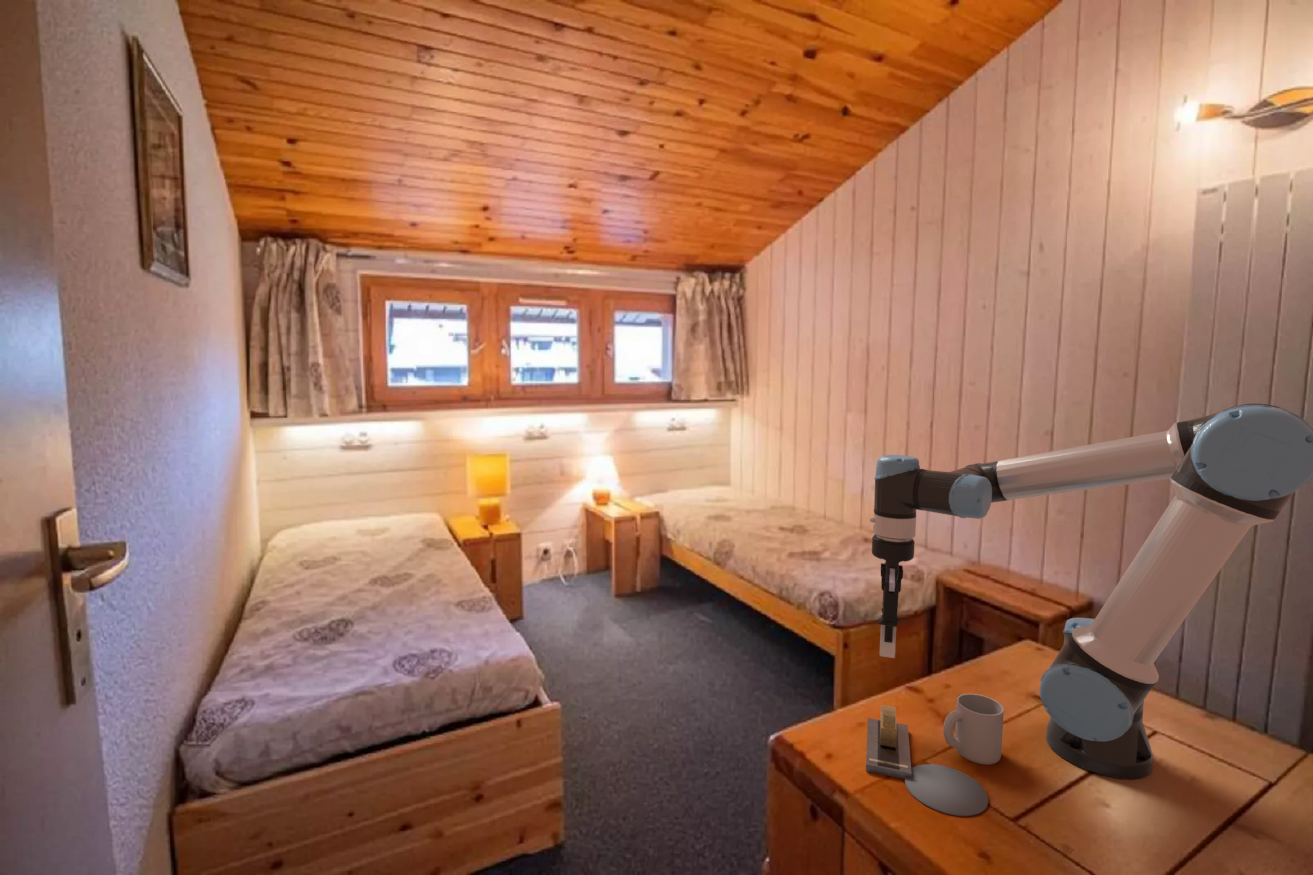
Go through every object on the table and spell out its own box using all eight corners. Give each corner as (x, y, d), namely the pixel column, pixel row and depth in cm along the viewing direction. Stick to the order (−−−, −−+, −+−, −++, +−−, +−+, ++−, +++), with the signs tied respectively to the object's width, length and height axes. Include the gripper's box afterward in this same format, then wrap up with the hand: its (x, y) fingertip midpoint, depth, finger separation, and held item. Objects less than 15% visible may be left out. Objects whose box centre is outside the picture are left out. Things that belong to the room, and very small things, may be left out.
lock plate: (907, 731, 114) (907, 724, 114) (911, 780, 100) (911, 773, 100) (867, 723, 116) (867, 717, 116) (865, 771, 102) (866, 763, 102)
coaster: (981, 775, 101) (981, 773, 101) (994, 824, 90) (994, 822, 90) (903, 759, 105) (903, 758, 105) (906, 805, 94) (906, 803, 94)
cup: (1010, 764, 104) (1013, 714, 103) (954, 768, 103) (957, 717, 102) (983, 739, 111) (986, 692, 110) (931, 742, 110) (933, 695, 109)
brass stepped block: (895, 723, 114) (896, 696, 113) (896, 747, 106) (897, 719, 106) (880, 720, 114) (881, 694, 114) (880, 744, 107) (881, 716, 106)
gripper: (872, 526, 124) (867, 639, 126) (872, 543, 112) (866, 667, 114) (913, 530, 121) (906, 644, 124) (916, 547, 109) (909, 674, 112)
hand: (887, 655), depth 119 cm, fingers closed
